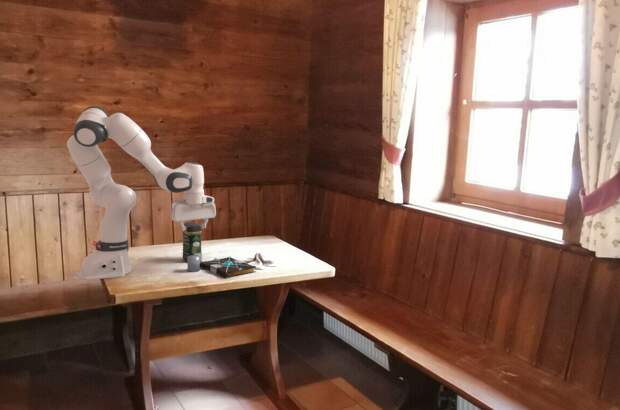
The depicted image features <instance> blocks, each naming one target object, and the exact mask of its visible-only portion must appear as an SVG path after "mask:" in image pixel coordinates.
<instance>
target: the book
mask: <svg viewBox="0 0 620 410" xmlns="http://www.w3.org/2000/svg"><path fill="white" fill-rule="evenodd" d="M241 260H242V259H241ZM241 260H240V259H236V258H233V257H231V256H228V257H223V258H218V259H217V257H215V258H213V259H212V260H204V261H203V260H201V261H200V269H204V270H207V271H209V272H210V273H212V274H214V275H218V276H221V277H223V278H224V279H230V278H234V277H238V276H242V275H244V276H245V275H249V274H253V273H256V272H257V270H255V269H254V268H256V266H252V265H250V264H247V263H245V262H243V261H241Z"/></svg>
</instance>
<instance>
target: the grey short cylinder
mask: <svg viewBox="0 0 620 410" xmlns="http://www.w3.org/2000/svg"><path fill="white" fill-rule="evenodd" d="M200 270H201V267H200V256H198V255H190V256H188V262H187V272H188V273H197V272H200Z"/></svg>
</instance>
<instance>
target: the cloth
mask: <svg viewBox="0 0 620 410" xmlns="http://www.w3.org/2000/svg"><path fill="white" fill-rule="evenodd" d="M241 261H243V262H245V263H247V264H250V265H252V266H256V268H254V270H256V269H257V270H266V269H265V268H264V267H263V266H265V267H269V268H270V267H272V266H276V265H274V264H276V263H278V260H275V259H273V258H270V257H268V256H267V255H266V256H265V255H264V254H263V252H262V251H256V252H255V255H254V257H250V256H246V257H244V258H242V259H241ZM276 267H277V266H276ZM272 268H273V267H272Z"/></svg>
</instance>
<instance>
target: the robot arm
mask: <svg viewBox="0 0 620 410" xmlns="http://www.w3.org/2000/svg"><path fill="white" fill-rule="evenodd" d="M108 138H109V139H111V140H112V141H114V142H115V143H116V144H117V145H118V146H119V147H120V148H121V149H122V150H123V151H125V153H127V154H128V155H130V156H131V157H132V158H134V159H136V160H137V161H138V162H140V163H141V164H142V165H143V166H144V167H145V168H146V170H147V171H148V172H150V174H151V175H152V177H153V179H154V182H155V184H156V185H157V187H158V188H159V189H161V190H162V191H163V190H164V191H167V192H170V193H172V194H177V193H182V192H183V199H176V200H174V201H173V202H172V203H171V215H170V217H171V220H172V221H173V222H175V223H177V222H178V223H179V225H180V226H181V231H182V232H183V231H186V230H187V229H186V228H187V227H186V226H184V223H185V222H189V221H197V220H203V223H201V224H200V225H201V228H202V230H204V229H207V224H208V222H209V219H215V217H216V216H217V209H216V208H217V207H216V204H215V198H214V197H213V196H210V195H207V194H205V190H204V184H205V174H204V173H205V172H204V166H203V165H202V164H200V163H197V162H192V161H186V162H184V164H182V165H181V166H179V167H177V168H174V169H173V168H170V167H168V166H165V165H164V164H163V163H162V162H161V161H160V159H158V157H157V156H156V155H155V154H154V153H153V151H152V148H151V147H152V142H151V139H150V138H149V136H148V135H147V133H146V132H145V131H144V130H143V129H142V128H141V127H140V126H139V124H137V123H136V122H135V121H133V120H132V119H131V118H130V117H129V116H127V115H125V114H124V113H122V112H116V113H113V114H111V115H110V116H109V114H108V112H107V111H106V109H105V108H103V107H102V106H99V105H98V106H97V105H92V106H89V107H86V108H85V109H84V110H83V111H82V112H81V114H80V115H79V117H78V118H77V120H76V123H75V124H74V127H73V135H71V136H70V137H69V138H68V140H67V142H66V147H67V149H68V152H69V155H70V156H71V159H72V160H73V162H74V164H75V165H76V166H77V169H78V170H79V172H80V173H81V174H82V176H83V177H84V179H85V181H86V183H87V185H88V189H89V197H90V200H91V201H92V202H93V203H94V204H96V205H97V206H99V207H102V208H105V212H104V215H103V219H101V221H100V222H99V240H98V241H96V240H93V241H92V242H91V244H92V246H93V247H95V249H94V250H93V251H92V252H91V253H90V254H88V255H87V256H85V257H84V259H83V260H82V262H81V269H77V270H76V272H75V275H76V277H78V278H79V279H81V280H85V281H88V280H89V281H91V280H92V281H93V280H101V279H111V278H122V277H125V276H126V275H128V274H130V273H131V272H132V267H131V264H130V263H131V262H130V258H129V250H130V249H129V248H130V247H129V239H128V221H129V216H130V212H131V211H132V209H133V208H134V207H135V206H136V204H137V199H138V197H137V194H136V192H135V191H134V190H133V189H132V188H130V187H129V186H127V185H124V184H119V183H117V182H115V181H114V180H113V178H112V175H111V174H112V173H111V171H112V167H111V166H110V164H109V162H108V160H107V159H106V157H105V156H104V154H103V152H102V150H101V149H100V147H99V144H101V143H105V142H106V141H107V140H108Z"/></svg>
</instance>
